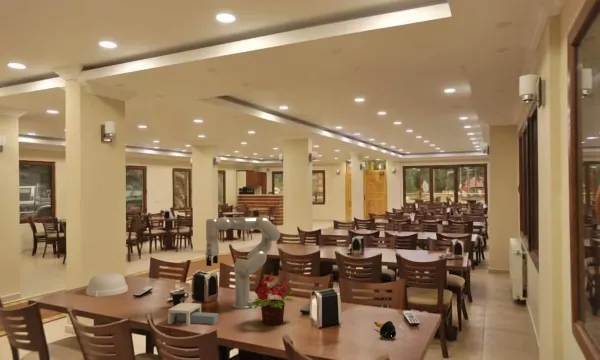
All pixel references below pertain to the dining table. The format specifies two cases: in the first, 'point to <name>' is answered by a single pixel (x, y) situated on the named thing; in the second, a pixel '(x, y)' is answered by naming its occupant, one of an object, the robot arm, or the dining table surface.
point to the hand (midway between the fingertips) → (212, 264)
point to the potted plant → (271, 302)
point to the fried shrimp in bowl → (386, 329)
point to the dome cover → (106, 285)
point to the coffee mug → (178, 297)
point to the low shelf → (182, 308)
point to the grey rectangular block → (199, 317)
